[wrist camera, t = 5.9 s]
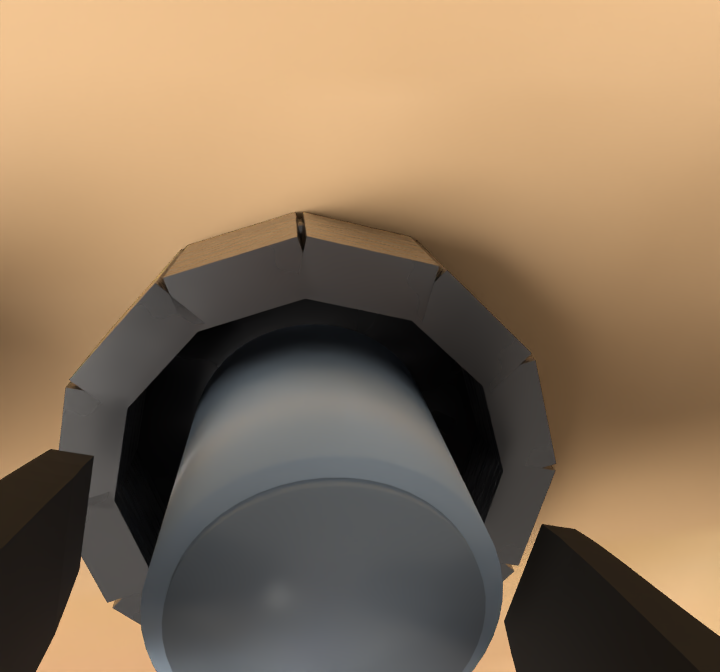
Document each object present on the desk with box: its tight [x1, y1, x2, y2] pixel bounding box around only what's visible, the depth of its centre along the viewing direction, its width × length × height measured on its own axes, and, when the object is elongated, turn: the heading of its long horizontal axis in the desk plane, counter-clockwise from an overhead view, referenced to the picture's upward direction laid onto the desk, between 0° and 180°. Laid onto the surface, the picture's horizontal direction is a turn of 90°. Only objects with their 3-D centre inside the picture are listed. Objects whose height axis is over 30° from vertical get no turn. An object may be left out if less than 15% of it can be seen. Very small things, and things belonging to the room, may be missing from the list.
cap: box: [140, 324, 503, 672], centre depth 11 cm, size 5×5×5 cm
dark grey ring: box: [59, 212, 556, 624], centre depth 13 cm, size 9×9×3 cm
